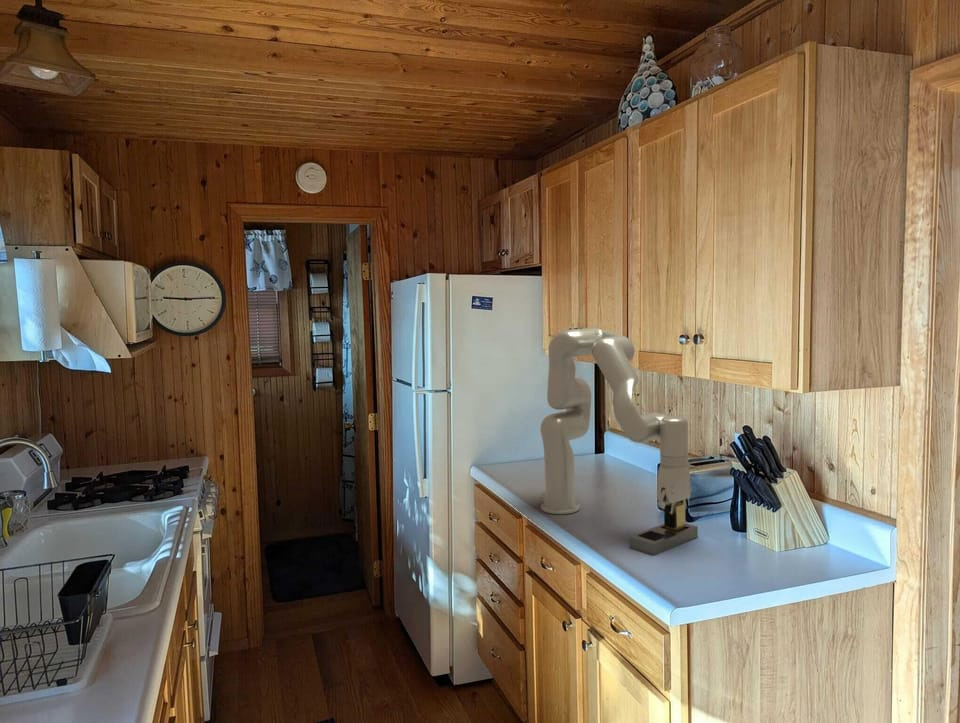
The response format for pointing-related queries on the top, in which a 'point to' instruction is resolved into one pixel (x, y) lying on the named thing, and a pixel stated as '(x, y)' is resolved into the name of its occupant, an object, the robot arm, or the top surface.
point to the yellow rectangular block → (678, 517)
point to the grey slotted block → (661, 539)
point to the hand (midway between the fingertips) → (674, 524)
